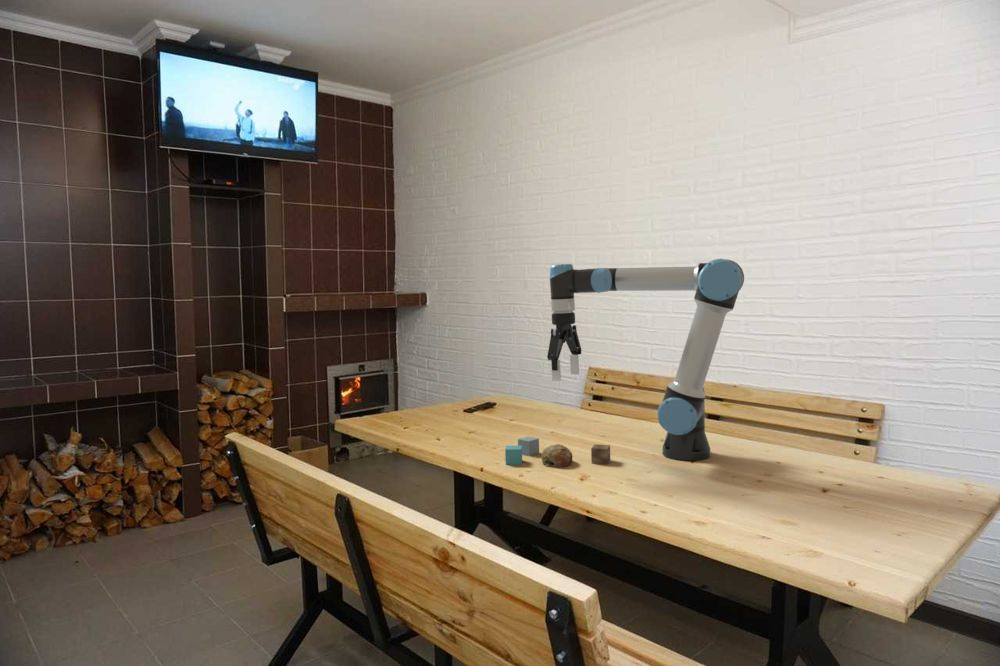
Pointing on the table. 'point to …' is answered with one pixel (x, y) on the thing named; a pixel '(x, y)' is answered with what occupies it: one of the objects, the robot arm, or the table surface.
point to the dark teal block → (513, 455)
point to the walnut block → (600, 454)
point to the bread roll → (557, 456)
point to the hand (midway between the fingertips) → (566, 377)
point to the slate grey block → (529, 445)
